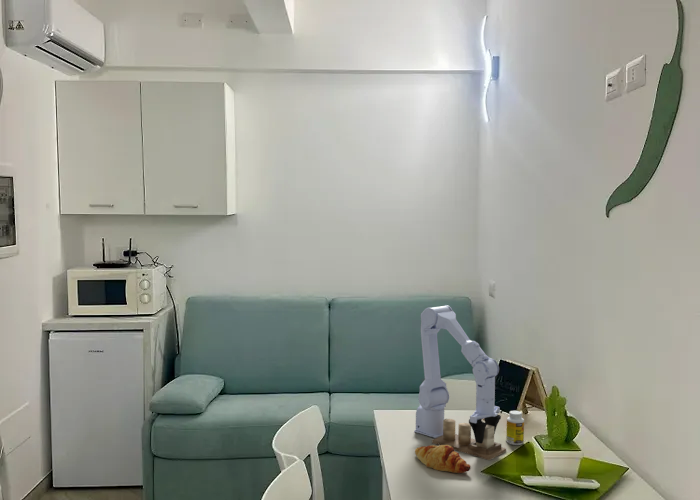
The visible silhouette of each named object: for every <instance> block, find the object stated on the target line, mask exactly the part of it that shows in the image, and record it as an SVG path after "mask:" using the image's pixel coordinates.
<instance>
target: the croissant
mask: <svg viewBox="0 0 700 500" xmlns="http://www.w3.org/2000/svg"><path fill="white" fill-rule="evenodd" d="M414 454H415V456H416V457H417V459H418V460H419V461H420V462H421V464H422V465H425V466H426V468H430V469H432V470H435V471H441V472H450V473H452V474H453V473H454V474H464V473H466V472H469V471H471V468H472V466H471V464H470V463H467V461H466V460H465V459H464V458H462V457H461V456H460V452H458V451H456V450H454V448H453V447H451V446H449V445H435V444H433V445H432V444H431V445H427V446H425V445H424V446H419V447H416V448H415V450H414Z"/></svg>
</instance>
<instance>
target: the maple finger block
mask: <svg viewBox="0 0 700 500" xmlns="http://www.w3.org/2000/svg"><path fill="white" fill-rule="evenodd" d="M494 442H495V434H494V426H491V425H486V428H485V431H484V438H483V443H477V442H476V446H480V447H483V448H487V449H488V448H490V447H492V446H494Z"/></svg>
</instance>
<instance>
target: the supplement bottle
mask: <svg viewBox="0 0 700 500" xmlns="http://www.w3.org/2000/svg"><path fill="white" fill-rule="evenodd" d="M508 414H509V415H508V417H507V418H506V435H505V436H506V438H505V439H506V443H507V444H510V445H512V446H520V445H523V444H524V440H525V439H524V438H525V436H524V435H525V419H524V418H523V413H522V412H521V411H519V410H510V411H509V413H508Z"/></svg>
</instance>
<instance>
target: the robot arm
mask: <svg viewBox="0 0 700 500" xmlns="http://www.w3.org/2000/svg"><path fill="white" fill-rule="evenodd" d="M420 323H421V324H420V339H421V349H422V350H421V351H422V362H423V373H424V374H423V375H424V380H423V381H422V383H421V384H420V385H419V393H418V396H417V397H418V404H419V406H418V407H417V409H416V410H415V429H414V433H416V434H417V433H418V434H420V435H422V436H423V435H425V436H427V437H430V438H434V439H435V438H438V437H440V436H442V435H443V420H444V419H445V408H446V405H447V404H448V403H449V401H450V393H449V391H448V388H447V383H446V382H445V381H444V380H443V379H442V376H441V365H440V356H439V355H440V354H439V344H438V343H439V342H438V333H439V332H440V331H441V329H442V330H447V332H448V333H449V335H451V336H452V337H453V338H454V339H455V340H456V342H457V343H458V344H459V345H460V347H461V354H462V355H463V356H464V358H465V360H467V362H468V363H469V364H470V365H471V367H472V374H473V376H474V378H475V379H474V382H475V384H476V385H475V387H476V388H475V390H476V391H475V394H476V395H475V397H476V398H475V411H473V413H472V415H470V416H469V419H468V423H469V424H470V425H471V430H472V432H473V436H474V439H475V440H476V442H477V443H483V438H484V431H485V428H486V425H491V426H494V435H495V433H496V429H497V426H498V424H499V422H500V420H501V418H502V416H501V415H500V414H499V413H500V411H501V410H500V406H497V405H495V401H496V399H495V398H496V397H495V396H496V395H495V394H496V393H495V392H496V391H495V390H496V376H498V374H499V372H500V366H499V364H498V362H497V360H496V359H494V358H491V357H490V356H488V355H487V354H486V353H485V351H484V350H483V349H482V348H481V346H480V343H478V342H477V341H476V340H471V339H470V337H469V336H468V335H467V333H466V331H464V329H463V327H462V326H461V324H460V323H459V322H458V320H457V314H456V312H454V310H453V309H452V307H451V306H450V305H447V304H444V305H442V306H441V305H440V306H433V307H426V308H424V310H423V311H422V312H421V313H420ZM483 420H484V421H483Z"/></svg>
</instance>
